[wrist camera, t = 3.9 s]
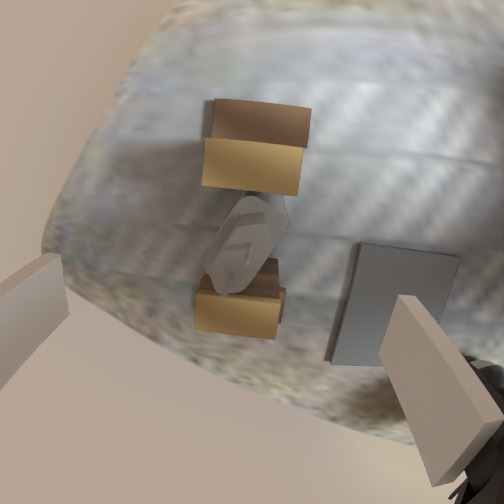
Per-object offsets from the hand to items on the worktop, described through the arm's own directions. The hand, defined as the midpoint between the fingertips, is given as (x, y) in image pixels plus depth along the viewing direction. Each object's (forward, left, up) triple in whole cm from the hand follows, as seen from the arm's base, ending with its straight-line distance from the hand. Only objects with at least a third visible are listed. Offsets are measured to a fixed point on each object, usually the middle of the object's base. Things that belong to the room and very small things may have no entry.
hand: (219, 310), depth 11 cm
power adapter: (0, 0, -15) cm, 15 cm away
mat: (+7, +14, -15) cm, 22 cm away
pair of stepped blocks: (0, 0, -15) cm, 15 cm away
